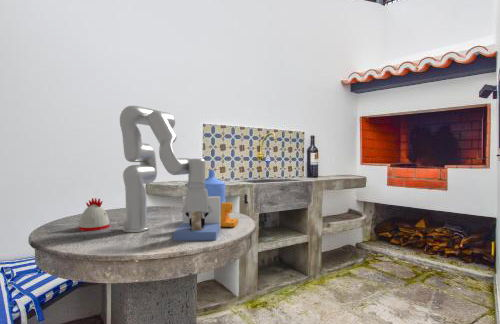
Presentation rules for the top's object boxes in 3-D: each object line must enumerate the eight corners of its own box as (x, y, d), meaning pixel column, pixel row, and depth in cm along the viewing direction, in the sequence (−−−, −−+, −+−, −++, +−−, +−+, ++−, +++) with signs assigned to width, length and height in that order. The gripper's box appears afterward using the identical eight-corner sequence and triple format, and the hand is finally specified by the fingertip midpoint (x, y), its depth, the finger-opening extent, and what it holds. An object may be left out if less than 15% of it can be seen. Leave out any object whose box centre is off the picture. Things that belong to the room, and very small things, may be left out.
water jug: (214, 216, 185) (214, 169, 184) (231, 219, 173) (230, 170, 173) (192, 219, 174) (191, 170, 174) (208, 224, 162) (207, 171, 162)
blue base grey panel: (173, 240, 130) (173, 202, 130) (183, 229, 150) (183, 196, 150) (215, 240, 131) (215, 202, 130) (220, 229, 151) (220, 196, 150)
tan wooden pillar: (191, 233, 135) (191, 211, 134) (194, 230, 141) (193, 208, 140) (200, 233, 135) (200, 211, 134) (202, 230, 141) (202, 208, 140)
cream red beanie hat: (100, 231, 148) (99, 200, 148) (72, 231, 149) (72, 200, 149) (114, 224, 162) (114, 196, 162) (89, 224, 163) (89, 196, 162)
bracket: (233, 228, 153) (233, 204, 152) (219, 227, 154) (219, 203, 154) (238, 223, 163) (238, 201, 163) (225, 223, 165) (225, 200, 164)
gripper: (176, 187, 133) (176, 229, 134) (214, 186, 133) (215, 229, 134) (180, 185, 141) (180, 225, 141) (216, 185, 141) (216, 225, 141)
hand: (197, 226), depth 137 cm, fingers closed on tan wooden pillar, 3 cm apart
